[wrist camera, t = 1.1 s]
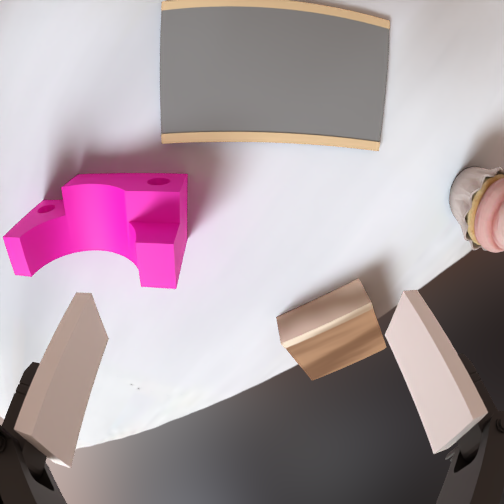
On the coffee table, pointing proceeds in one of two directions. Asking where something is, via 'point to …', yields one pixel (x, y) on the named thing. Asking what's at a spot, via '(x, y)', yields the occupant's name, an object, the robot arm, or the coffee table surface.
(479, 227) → the cupcake
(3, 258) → the coffee table surface
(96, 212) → the toy block
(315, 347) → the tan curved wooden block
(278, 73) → the mat
